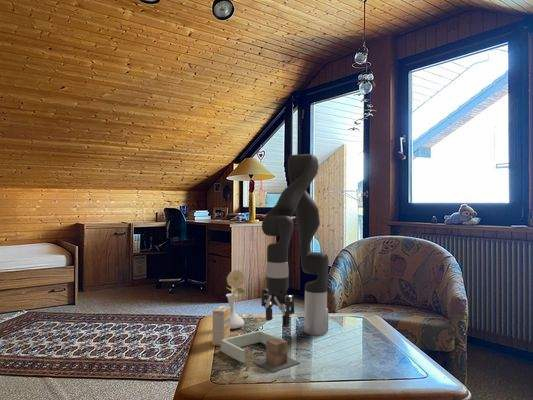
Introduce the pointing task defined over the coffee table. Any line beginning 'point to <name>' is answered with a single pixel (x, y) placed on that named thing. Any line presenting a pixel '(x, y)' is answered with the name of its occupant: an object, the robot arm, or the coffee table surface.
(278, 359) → the walnut block
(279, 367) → the charcoal mat
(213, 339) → the supplement box
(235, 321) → the flower in vase
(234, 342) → the open-side box
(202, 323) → the coffee table surface
